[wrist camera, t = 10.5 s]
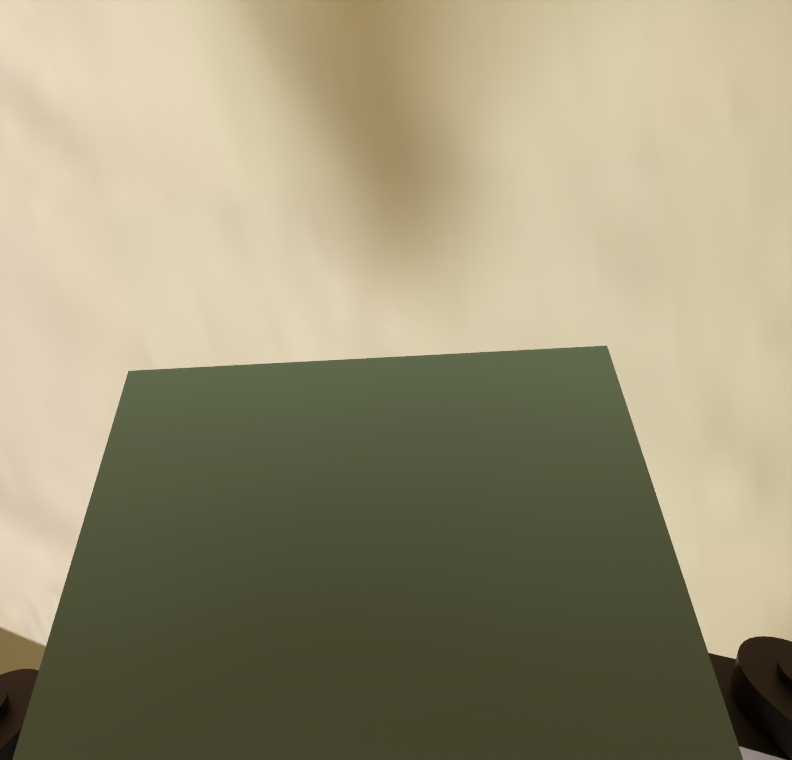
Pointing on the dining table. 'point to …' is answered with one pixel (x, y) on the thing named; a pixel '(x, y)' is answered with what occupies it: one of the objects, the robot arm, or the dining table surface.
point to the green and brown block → (376, 573)
